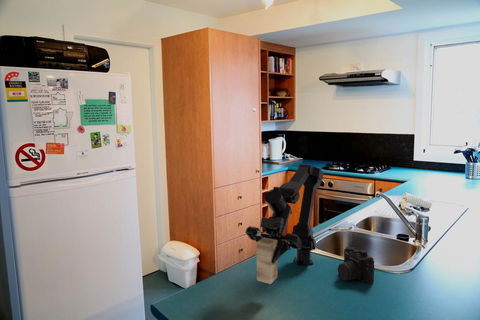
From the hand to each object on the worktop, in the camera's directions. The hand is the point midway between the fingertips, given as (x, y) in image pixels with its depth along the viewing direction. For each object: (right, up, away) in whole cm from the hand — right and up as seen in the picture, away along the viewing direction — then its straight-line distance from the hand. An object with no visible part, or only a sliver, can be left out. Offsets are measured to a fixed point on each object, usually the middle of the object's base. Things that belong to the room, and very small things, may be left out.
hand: (265, 261), depth 117 cm
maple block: (+1, -6, +2) cm, 7 cm away
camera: (+33, -11, +17) cm, 39 cm away
